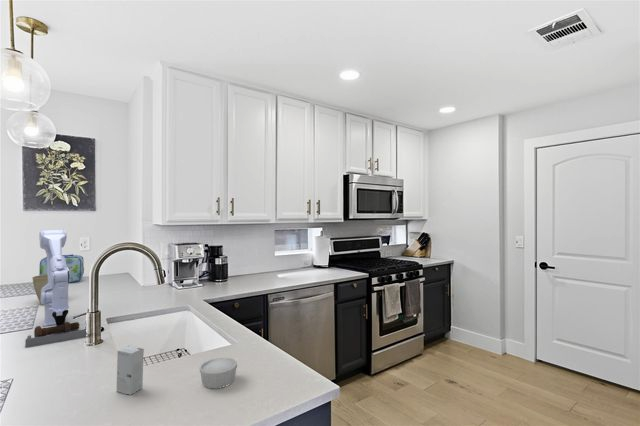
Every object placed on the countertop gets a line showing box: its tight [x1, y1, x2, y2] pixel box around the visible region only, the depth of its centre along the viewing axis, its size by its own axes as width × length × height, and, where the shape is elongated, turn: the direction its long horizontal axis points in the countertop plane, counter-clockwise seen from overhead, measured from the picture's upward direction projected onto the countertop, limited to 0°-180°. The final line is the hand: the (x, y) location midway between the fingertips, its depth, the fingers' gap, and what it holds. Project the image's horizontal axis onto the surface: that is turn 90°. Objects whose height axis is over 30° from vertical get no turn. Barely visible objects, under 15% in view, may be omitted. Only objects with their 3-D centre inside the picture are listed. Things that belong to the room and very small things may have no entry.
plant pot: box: [32, 274, 51, 306], centre depth 195 cm, size 15×15×16 cm
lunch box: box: [38, 254, 85, 284], centre depth 252 cm, size 26×11×21 cm, turn 115°
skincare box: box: [116, 344, 145, 396], centre depth 100 cm, size 6×4×12 cm
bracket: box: [24, 326, 87, 348], centre depth 140 cm, size 7×20×3 cm, turn 125°
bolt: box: [33, 321, 80, 338], centre depth 146 cm, size 6×5×15 cm
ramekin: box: [199, 357, 238, 389], centre depth 105 cm, size 11×11×5 cm
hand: (60, 328), depth 150 cm, fingers closed
